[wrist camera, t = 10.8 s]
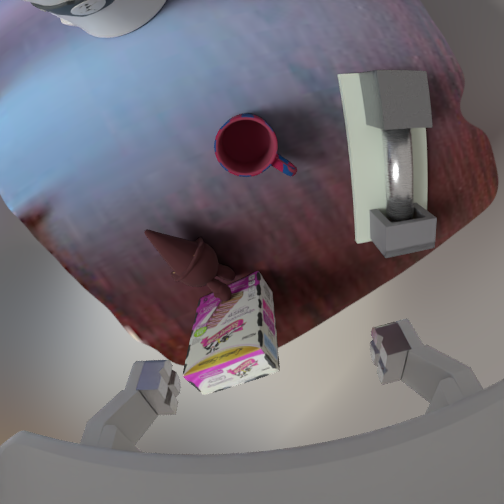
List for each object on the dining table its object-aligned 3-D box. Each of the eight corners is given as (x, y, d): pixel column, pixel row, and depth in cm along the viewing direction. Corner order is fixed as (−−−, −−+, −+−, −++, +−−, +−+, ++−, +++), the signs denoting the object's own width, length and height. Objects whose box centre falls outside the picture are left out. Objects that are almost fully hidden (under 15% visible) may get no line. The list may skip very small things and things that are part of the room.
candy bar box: (257, 267, 46) (262, 347, 31) (273, 291, 48) (282, 372, 33) (196, 297, 48) (180, 377, 34) (213, 318, 50) (204, 398, 36)
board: (337, 74, 33) (339, 74, 32) (416, 73, 32) (419, 73, 31) (355, 240, 44) (357, 243, 43) (422, 227, 43) (425, 230, 42)
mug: (240, 103, 35) (239, 103, 29) (302, 150, 38) (313, 160, 32) (209, 144, 37) (201, 153, 31) (271, 188, 40) (275, 205, 34)
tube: (376, 125, 35) (389, 128, 31) (401, 123, 34) (416, 127, 31) (382, 228, 42) (392, 240, 38) (405, 224, 41) (417, 235, 38)
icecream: (124, 263, 38) (214, 317, 44) (148, 231, 34) (247, 295, 40) (141, 230, 43) (221, 281, 49) (166, 199, 39) (251, 258, 45)
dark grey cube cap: (358, 73, 32) (376, 70, 26) (403, 72, 31) (426, 71, 26) (366, 124, 35) (384, 129, 30) (410, 122, 34) (432, 127, 29)
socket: (369, 209, 40) (386, 227, 35) (416, 202, 40) (436, 217, 35) (370, 238, 43) (385, 258, 37) (415, 229, 42) (434, 247, 37)
